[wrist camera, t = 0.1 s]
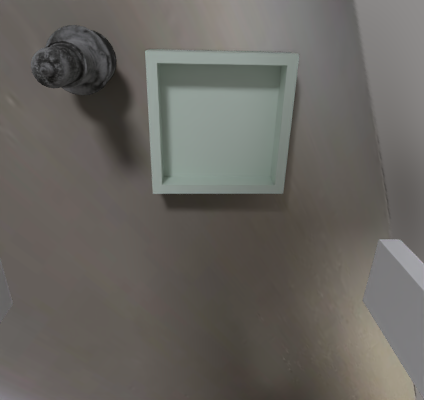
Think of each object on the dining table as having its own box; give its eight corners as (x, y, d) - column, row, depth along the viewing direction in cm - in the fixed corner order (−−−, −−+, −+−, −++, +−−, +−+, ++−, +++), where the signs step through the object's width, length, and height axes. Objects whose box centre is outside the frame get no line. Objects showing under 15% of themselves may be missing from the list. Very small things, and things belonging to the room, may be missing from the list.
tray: (149, 49, 35) (145, 50, 32) (290, 52, 36) (299, 54, 32) (156, 181, 41) (152, 193, 38) (276, 181, 42) (283, 193, 38)
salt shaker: (131, 62, 35) (103, 74, 25) (91, 101, 37) (49, 130, 26) (85, 11, 33) (33, 1, 22) (45, 55, 35) (-22, 66, 24)
